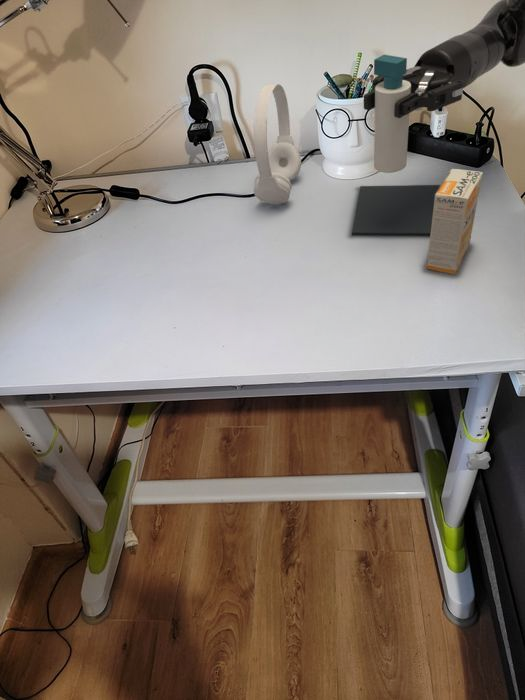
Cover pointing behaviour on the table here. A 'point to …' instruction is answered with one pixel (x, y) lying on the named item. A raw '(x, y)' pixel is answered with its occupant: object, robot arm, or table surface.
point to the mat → (395, 210)
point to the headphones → (274, 150)
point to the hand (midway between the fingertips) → (381, 106)
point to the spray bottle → (390, 115)
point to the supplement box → (453, 219)
